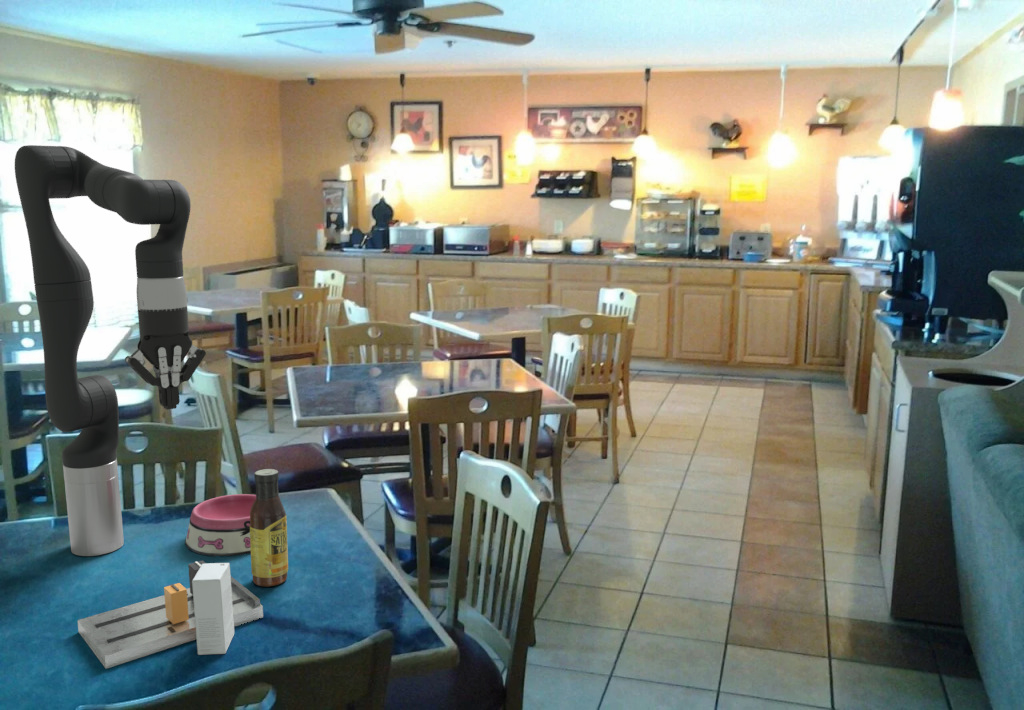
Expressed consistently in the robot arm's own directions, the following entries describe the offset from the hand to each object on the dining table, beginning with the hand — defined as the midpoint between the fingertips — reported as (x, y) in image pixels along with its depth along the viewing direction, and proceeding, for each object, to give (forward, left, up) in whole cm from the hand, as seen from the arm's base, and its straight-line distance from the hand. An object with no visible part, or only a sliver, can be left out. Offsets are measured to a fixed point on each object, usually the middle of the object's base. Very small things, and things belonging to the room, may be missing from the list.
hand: (169, 408), depth 146 cm
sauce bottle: (+7, +13, -32) cm, 35 cm away
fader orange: (+15, -6, -30) cm, 34 cm away
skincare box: (+23, -3, -32) cm, 39 cm away
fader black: (+9, 0, -30) cm, 31 cm away
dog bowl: (-16, +16, -32) cm, 40 cm away
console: (+12, -6, -32) cm, 35 cm away
